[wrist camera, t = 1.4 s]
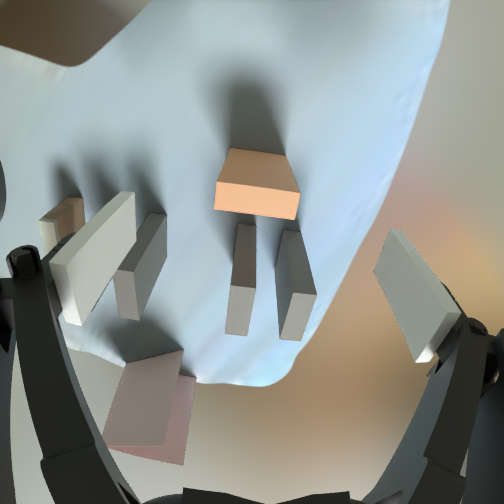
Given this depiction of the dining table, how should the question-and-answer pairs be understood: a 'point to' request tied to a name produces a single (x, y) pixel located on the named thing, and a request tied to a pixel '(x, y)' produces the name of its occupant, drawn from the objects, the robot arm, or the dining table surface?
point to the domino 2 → (242, 281)
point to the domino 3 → (293, 286)
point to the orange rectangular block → (257, 185)
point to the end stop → (61, 222)
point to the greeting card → (152, 410)
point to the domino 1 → (141, 267)
